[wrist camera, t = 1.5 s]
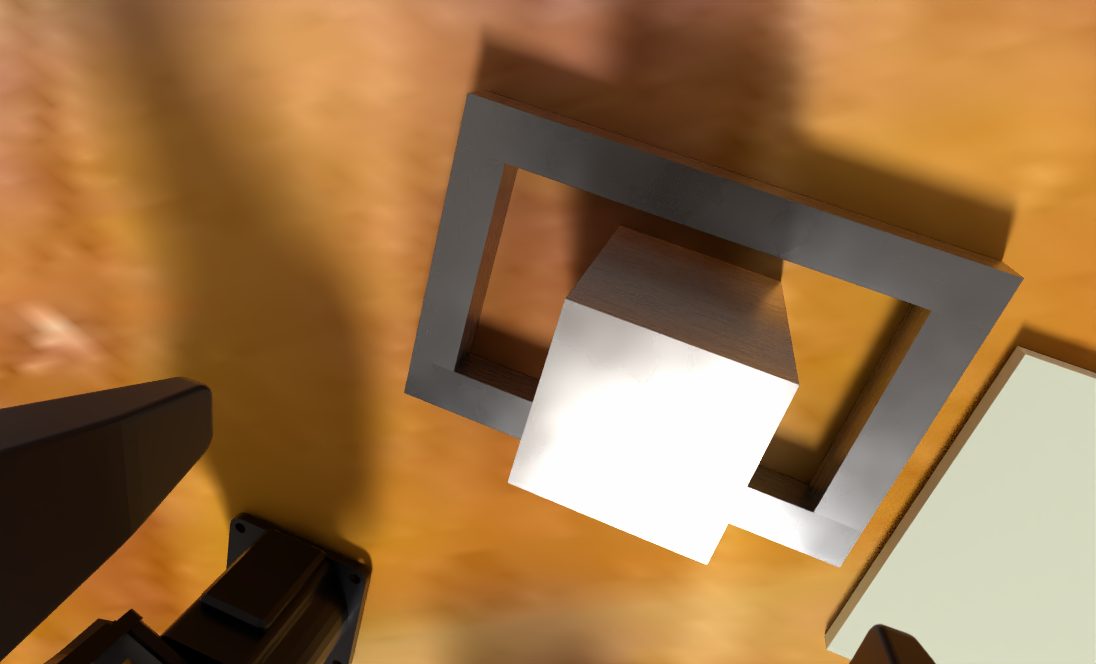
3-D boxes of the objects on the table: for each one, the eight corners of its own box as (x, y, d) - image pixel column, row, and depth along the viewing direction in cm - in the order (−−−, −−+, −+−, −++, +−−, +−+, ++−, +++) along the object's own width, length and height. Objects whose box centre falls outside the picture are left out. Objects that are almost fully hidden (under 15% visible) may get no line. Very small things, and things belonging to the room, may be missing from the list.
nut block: (716, 419, 22) (706, 564, 15) (573, 364, 22) (507, 482, 16) (780, 281, 20) (799, 385, 13) (620, 224, 20) (565, 298, 14)
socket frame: (833, 536, 22) (839, 567, 21) (423, 374, 24) (404, 393, 23) (1002, 261, 18) (1023, 278, 16) (486, 90, 20) (467, 92, 18)
